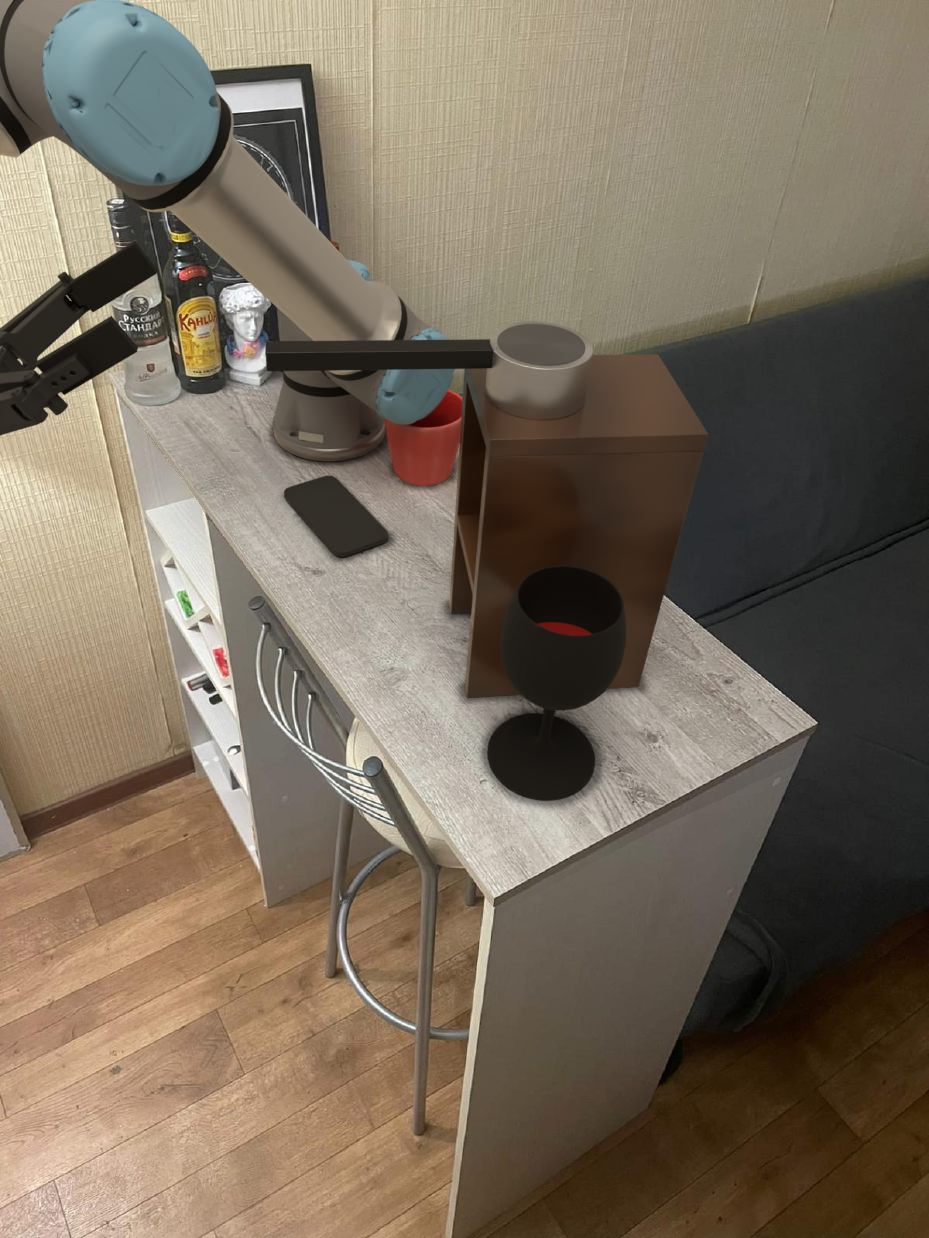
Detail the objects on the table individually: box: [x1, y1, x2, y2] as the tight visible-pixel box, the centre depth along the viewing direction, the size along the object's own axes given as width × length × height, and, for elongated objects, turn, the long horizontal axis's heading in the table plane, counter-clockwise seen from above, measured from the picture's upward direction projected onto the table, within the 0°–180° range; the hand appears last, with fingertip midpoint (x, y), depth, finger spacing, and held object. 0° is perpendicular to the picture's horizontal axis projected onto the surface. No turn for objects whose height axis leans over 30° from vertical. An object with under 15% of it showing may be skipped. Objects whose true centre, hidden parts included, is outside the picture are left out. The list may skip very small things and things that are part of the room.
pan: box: [264, 320, 594, 420], centre depth 74 cm, size 26×8×5 cm, turn 98°
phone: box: [283, 475, 389, 558], centre depth 112 cm, size 7×1×15 cm
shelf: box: [448, 353, 709, 699], centre depth 88 cm, size 18×14×30 cm
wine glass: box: [486, 565, 626, 801], centre depth 80 cm, size 10×10×20 cm
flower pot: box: [384, 389, 463, 487], centre depth 118 cm, size 11×11×10 cm
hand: (136, 292), depth 68 cm, fingers open, 13 cm apart
